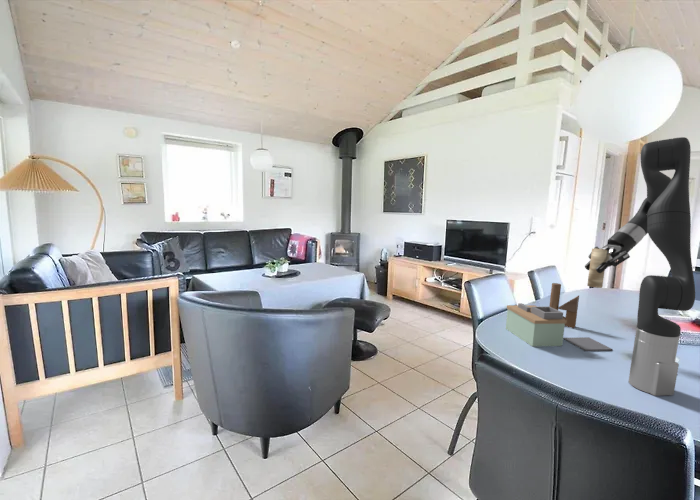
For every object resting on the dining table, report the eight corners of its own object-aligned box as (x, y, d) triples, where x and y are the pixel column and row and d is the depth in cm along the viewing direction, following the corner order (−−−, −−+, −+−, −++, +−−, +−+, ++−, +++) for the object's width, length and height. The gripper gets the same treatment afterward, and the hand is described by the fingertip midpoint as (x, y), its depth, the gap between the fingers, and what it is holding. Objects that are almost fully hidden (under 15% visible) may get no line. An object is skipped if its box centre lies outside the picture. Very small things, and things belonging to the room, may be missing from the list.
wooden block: (573, 328, 147) (578, 288, 145) (546, 322, 155) (550, 283, 152) (575, 326, 150) (580, 286, 148) (548, 320, 157) (552, 282, 155)
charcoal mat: (612, 350, 125) (612, 349, 125) (584, 351, 124) (585, 349, 124) (588, 338, 136) (588, 337, 136) (563, 339, 135) (563, 337, 135)
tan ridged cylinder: (605, 287, 125) (610, 250, 123) (594, 287, 124) (598, 250, 122) (595, 284, 129) (600, 248, 127) (584, 284, 129) (588, 248, 127)
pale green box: (564, 346, 128) (568, 313, 126) (532, 346, 126) (535, 314, 125) (533, 328, 146) (536, 299, 144) (504, 328, 145) (507, 299, 143)
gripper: (604, 229, 132) (571, 259, 132) (639, 232, 118) (602, 266, 118) (615, 243, 133) (582, 273, 133) (650, 248, 119) (614, 281, 119)
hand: (592, 269), depth 126 cm, fingers closed on tan ridged cylinder, 4 cm apart
